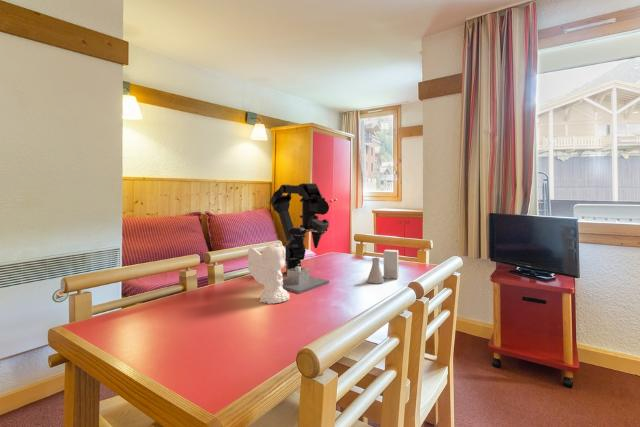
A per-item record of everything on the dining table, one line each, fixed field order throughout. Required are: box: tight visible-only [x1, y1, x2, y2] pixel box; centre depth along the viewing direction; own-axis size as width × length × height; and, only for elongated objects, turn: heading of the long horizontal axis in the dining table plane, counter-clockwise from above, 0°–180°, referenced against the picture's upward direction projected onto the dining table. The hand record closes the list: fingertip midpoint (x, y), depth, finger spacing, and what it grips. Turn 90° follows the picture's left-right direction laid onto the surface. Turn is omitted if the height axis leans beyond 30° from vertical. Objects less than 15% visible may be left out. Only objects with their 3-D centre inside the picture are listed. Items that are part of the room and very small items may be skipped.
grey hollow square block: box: [286, 267, 310, 284], centre depth 137 cm, size 6×6×5 cm
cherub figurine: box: [246, 241, 290, 305], centre depth 118 cm, size 13×12×20 cm
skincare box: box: [383, 249, 400, 280], centre depth 147 cm, size 6×4×12 cm
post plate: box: [282, 266, 330, 294], centre depth 137 cm, size 18×18×7 cm
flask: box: [366, 257, 385, 284], centre depth 141 cm, size 7×7×10 cm
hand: (308, 249), depth 143 cm, fingers open, 9 cm apart
